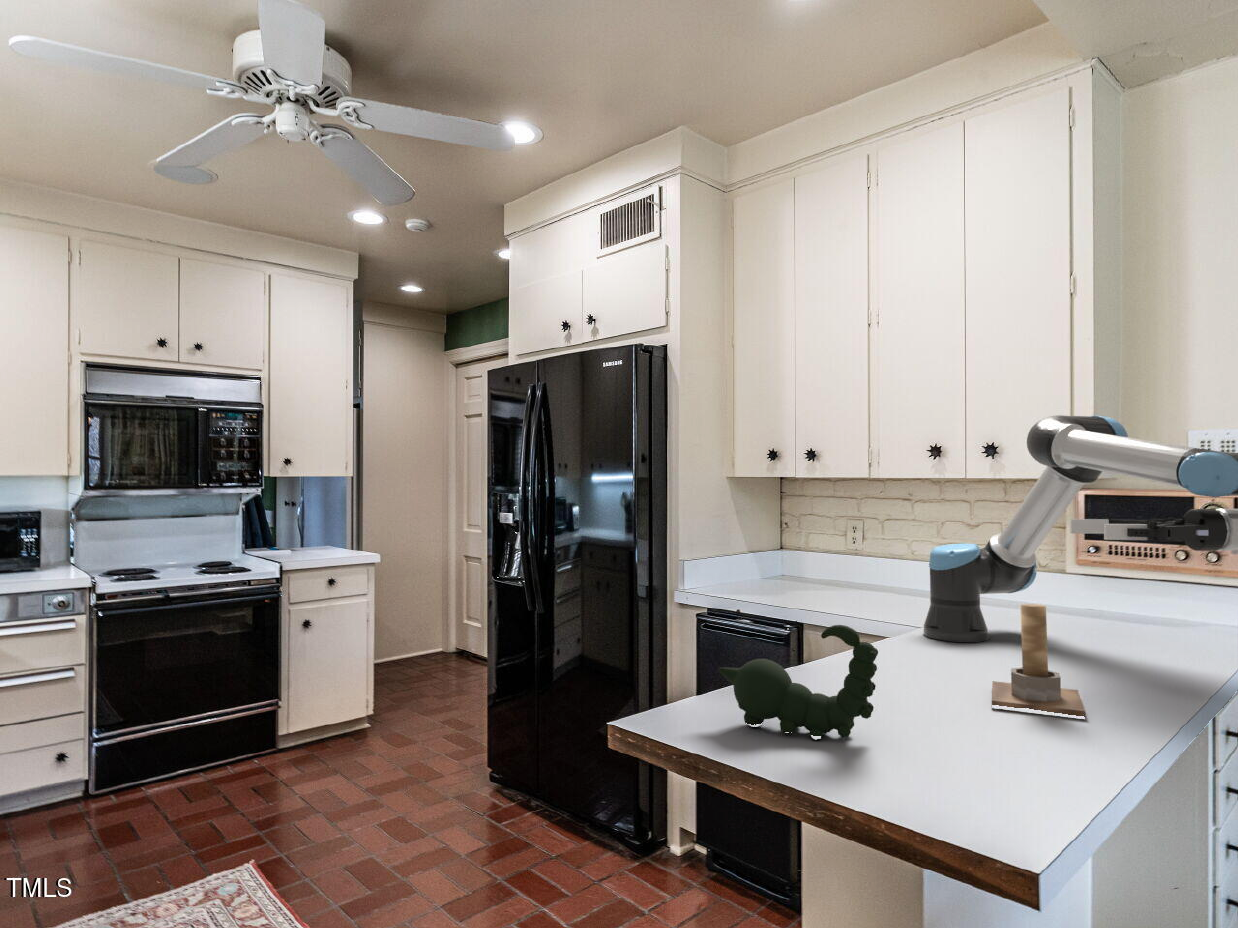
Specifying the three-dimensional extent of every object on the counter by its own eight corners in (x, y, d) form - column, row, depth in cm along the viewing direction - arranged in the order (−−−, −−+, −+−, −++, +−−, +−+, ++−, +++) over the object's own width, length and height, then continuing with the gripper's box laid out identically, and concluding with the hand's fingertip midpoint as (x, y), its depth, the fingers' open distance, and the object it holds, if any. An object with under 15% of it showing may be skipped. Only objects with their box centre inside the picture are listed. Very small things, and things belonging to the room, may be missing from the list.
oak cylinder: (1023, 696, 133) (1020, 606, 134) (1023, 690, 137) (1020, 603, 137) (1049, 699, 131) (1046, 607, 132) (1048, 693, 135) (1045, 604, 136)
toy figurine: (872, 743, 119) (722, 709, 130) (882, 625, 119) (731, 601, 130) (865, 763, 111) (705, 725, 121) (875, 637, 110) (714, 610, 121)
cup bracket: (991, 708, 131) (991, 677, 131) (992, 688, 144) (992, 660, 144) (1085, 720, 125) (1084, 687, 125) (1077, 698, 137) (1077, 668, 137)
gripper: (1265, 558, 121) (1121, 556, 124) (1176, 544, 146) (1058, 542, 149) (1264, 512, 121) (1121, 511, 124) (1175, 505, 146) (1058, 505, 149)
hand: (1086, 528), depth 137 cm, fingers open, 13 cm apart
